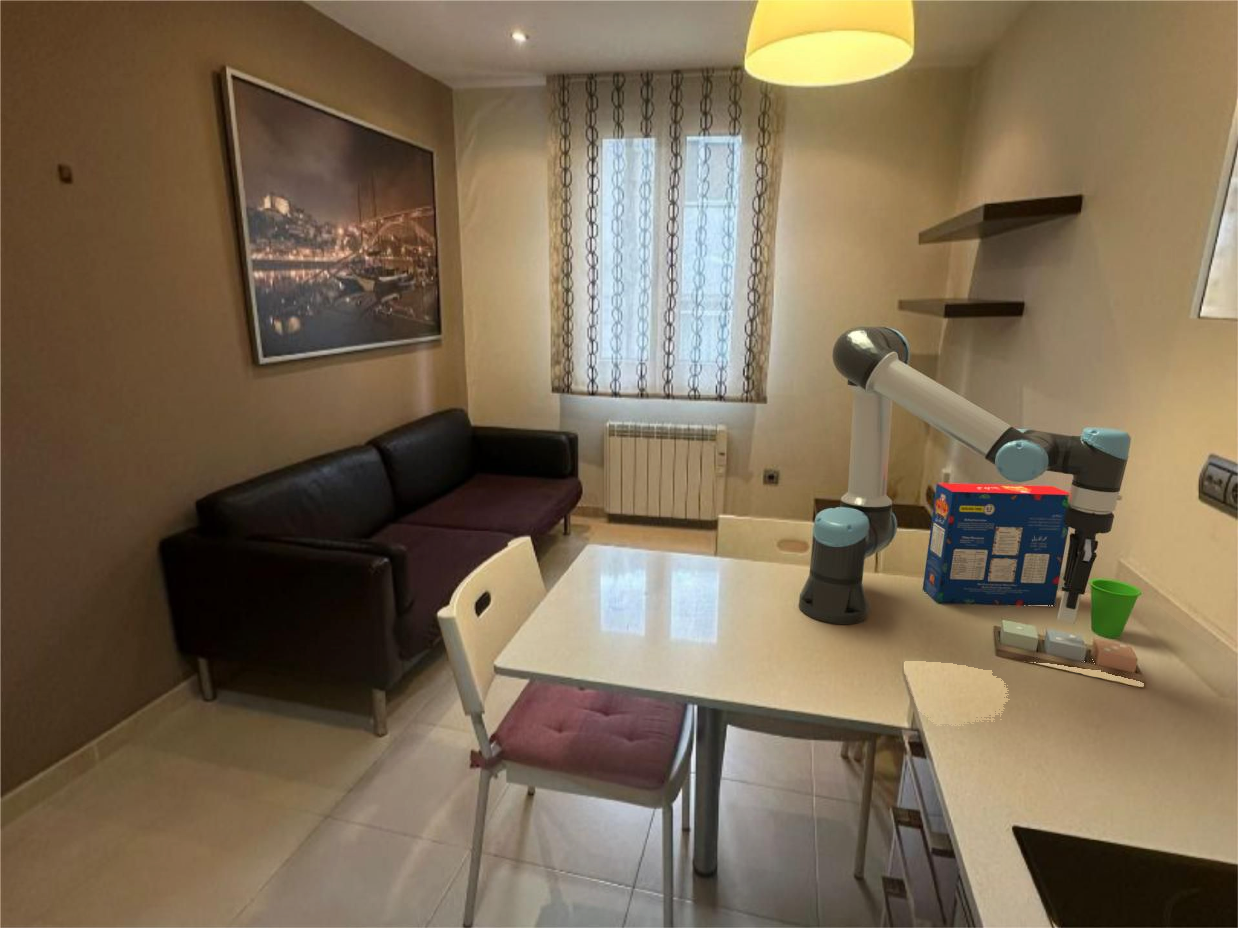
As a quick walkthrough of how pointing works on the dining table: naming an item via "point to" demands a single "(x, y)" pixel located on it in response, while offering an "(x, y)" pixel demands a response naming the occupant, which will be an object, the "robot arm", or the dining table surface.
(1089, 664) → the board
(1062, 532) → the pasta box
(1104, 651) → the peach block
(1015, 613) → the dining table surface
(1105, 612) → the cup
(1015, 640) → the pale green block
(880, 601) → the dining table surface
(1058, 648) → the grey block
